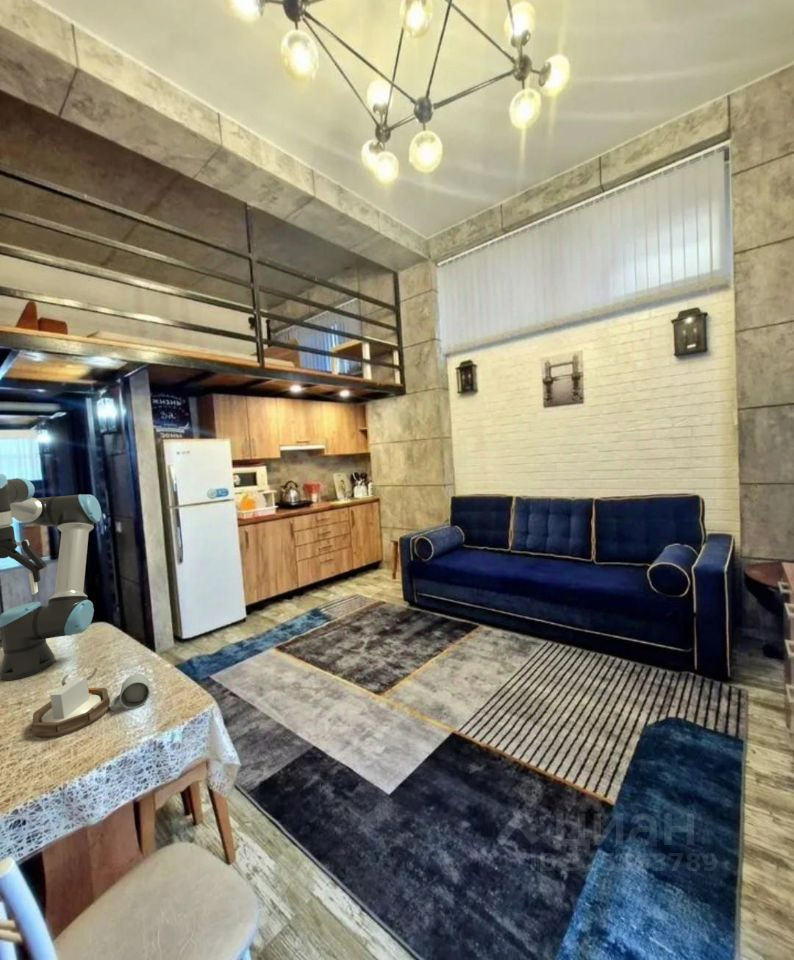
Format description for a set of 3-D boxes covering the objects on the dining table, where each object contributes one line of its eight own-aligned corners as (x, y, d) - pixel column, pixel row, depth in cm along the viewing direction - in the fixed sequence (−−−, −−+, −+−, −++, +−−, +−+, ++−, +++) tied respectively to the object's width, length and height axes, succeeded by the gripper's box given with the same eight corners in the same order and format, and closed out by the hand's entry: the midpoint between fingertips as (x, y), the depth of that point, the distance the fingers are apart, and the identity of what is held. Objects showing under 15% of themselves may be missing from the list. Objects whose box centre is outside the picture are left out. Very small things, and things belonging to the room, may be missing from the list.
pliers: (96, 665, 152) (97, 689, 136) (97, 667, 152) (97, 691, 136) (62, 675, 146) (59, 701, 130) (62, 677, 146) (59, 704, 130)
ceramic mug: (150, 690, 134) (147, 667, 133) (151, 702, 127) (147, 678, 126) (110, 703, 128) (106, 679, 128) (109, 717, 122) (105, 692, 121)
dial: (75, 727, 115) (71, 699, 115) (28, 728, 116) (24, 700, 115) (112, 697, 129) (108, 671, 128) (69, 698, 130) (66, 673, 129)
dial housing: (34, 716, 124) (32, 704, 124) (107, 691, 135) (106, 679, 135) (30, 748, 110) (28, 734, 110) (113, 717, 121) (111, 704, 121)
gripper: (-70, 535, 115) (-58, 610, 117) (44, 523, 125) (53, 592, 127) (-54, 531, 122) (-43, 602, 124) (52, 519, 132) (61, 585, 134)
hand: (6, 597), depth 126 cm, fingers open, 13 cm apart
